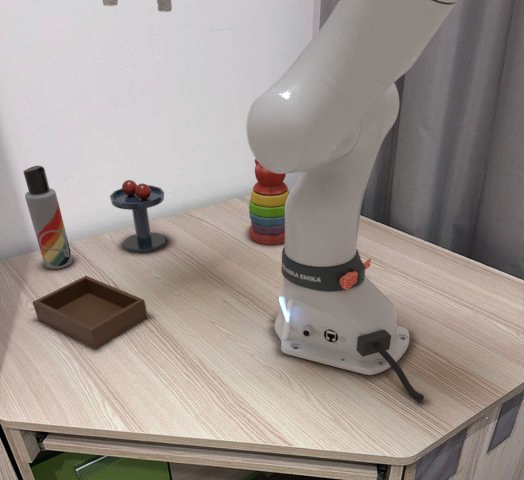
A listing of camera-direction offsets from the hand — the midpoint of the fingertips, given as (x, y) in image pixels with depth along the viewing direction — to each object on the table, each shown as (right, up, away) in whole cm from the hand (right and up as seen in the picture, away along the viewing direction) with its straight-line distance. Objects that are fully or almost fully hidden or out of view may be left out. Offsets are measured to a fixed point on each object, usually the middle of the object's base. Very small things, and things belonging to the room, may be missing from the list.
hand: (138, 8), depth 82 cm
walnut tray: (-11, -46, +14) cm, 49 cm away
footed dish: (-7, -28, +38) cm, 48 cm away
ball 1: (-9, -18, +32) cm, 38 cm away
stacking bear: (+21, -26, +40) cm, 52 cm away
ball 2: (-6, -19, +30) cm, 36 cm away
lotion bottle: (-24, -34, +31) cm, 52 cm away
